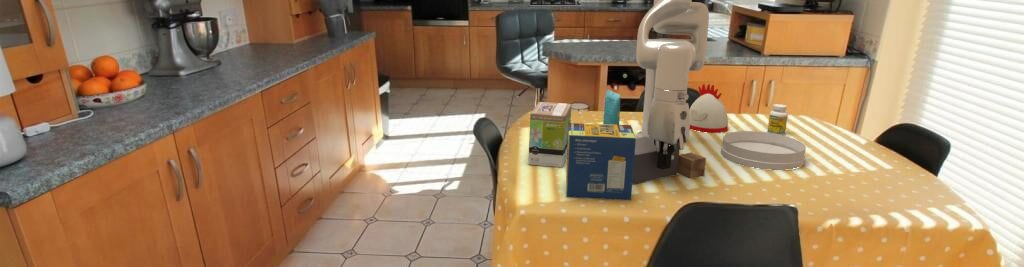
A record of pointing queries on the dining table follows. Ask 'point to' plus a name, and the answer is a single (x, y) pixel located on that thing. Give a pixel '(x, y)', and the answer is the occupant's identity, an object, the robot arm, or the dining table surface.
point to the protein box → (600, 161)
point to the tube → (612, 108)
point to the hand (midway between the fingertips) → (663, 167)
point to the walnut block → (691, 165)
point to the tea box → (549, 134)
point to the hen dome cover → (708, 112)
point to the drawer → (652, 166)
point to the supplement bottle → (778, 120)
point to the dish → (763, 150)
